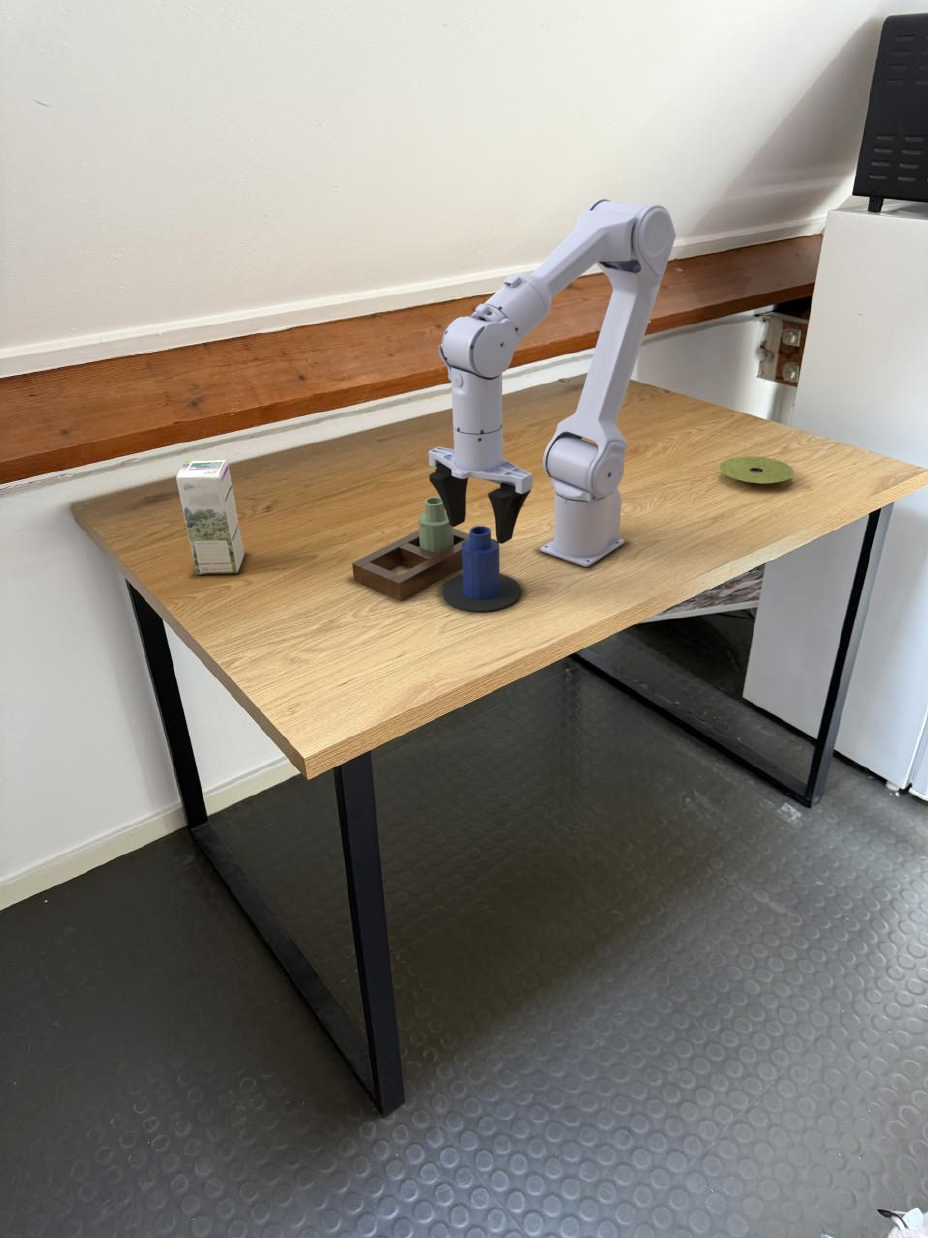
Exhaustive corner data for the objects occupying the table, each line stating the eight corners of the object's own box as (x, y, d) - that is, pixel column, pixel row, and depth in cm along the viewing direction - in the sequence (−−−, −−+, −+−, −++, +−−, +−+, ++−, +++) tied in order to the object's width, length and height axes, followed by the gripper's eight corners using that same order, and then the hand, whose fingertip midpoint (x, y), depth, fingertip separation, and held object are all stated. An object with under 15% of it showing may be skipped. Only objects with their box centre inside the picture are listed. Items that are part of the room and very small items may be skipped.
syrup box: (245, 554, 127) (228, 457, 120) (237, 575, 122) (219, 474, 115) (204, 556, 127) (185, 458, 120) (195, 576, 122) (174, 476, 115)
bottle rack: (353, 580, 120) (351, 562, 119) (435, 537, 130) (434, 521, 129) (401, 601, 115) (399, 583, 114) (482, 555, 125) (482, 538, 124)
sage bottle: (436, 547, 128) (433, 491, 123) (460, 556, 125) (458, 499, 121) (413, 559, 125) (410, 502, 120) (438, 568, 122) (435, 511, 118)
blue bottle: (479, 578, 119) (478, 519, 114) (506, 589, 116) (506, 529, 112) (456, 592, 116) (453, 532, 112) (483, 603, 113) (482, 542, 109)
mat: (705, 472, 148) (706, 460, 147) (766, 462, 150) (768, 451, 149) (741, 498, 139) (743, 486, 138) (806, 488, 141) (808, 476, 140)
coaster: (477, 566, 122) (477, 564, 122) (536, 589, 117) (536, 587, 116) (426, 595, 116) (426, 593, 116) (486, 621, 110) (486, 618, 110)
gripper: (408, 422, 106) (415, 527, 114) (505, 449, 98) (506, 560, 105) (448, 407, 111) (453, 508, 118) (544, 431, 103) (542, 539, 110)
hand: (480, 532), depth 112 cm, fingers open, 7 cm apart
